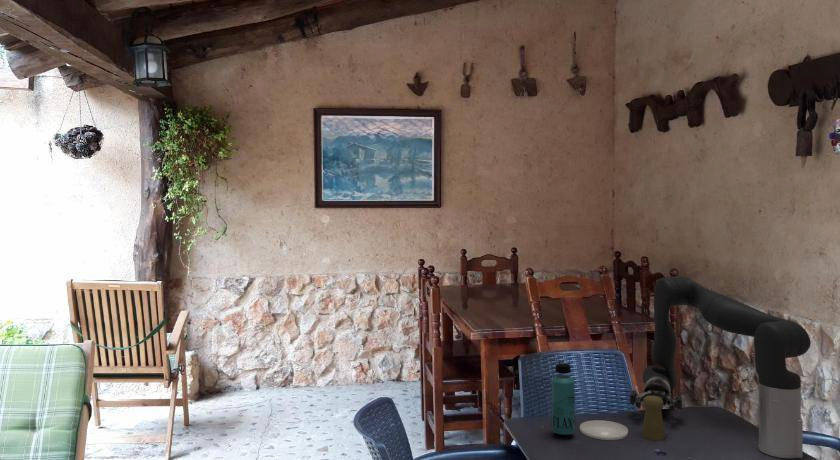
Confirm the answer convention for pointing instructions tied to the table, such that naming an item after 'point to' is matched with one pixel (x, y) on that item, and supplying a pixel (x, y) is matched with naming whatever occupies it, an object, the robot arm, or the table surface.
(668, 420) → the table surface
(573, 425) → the beverage bottle
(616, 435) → the saucer
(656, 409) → the cork
